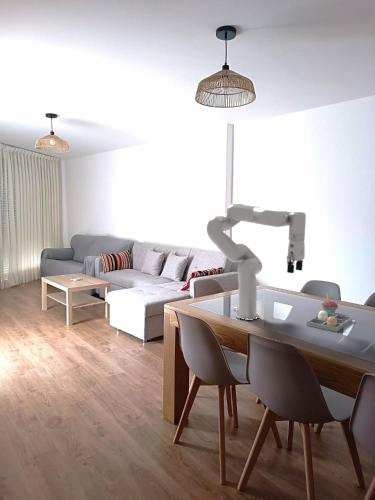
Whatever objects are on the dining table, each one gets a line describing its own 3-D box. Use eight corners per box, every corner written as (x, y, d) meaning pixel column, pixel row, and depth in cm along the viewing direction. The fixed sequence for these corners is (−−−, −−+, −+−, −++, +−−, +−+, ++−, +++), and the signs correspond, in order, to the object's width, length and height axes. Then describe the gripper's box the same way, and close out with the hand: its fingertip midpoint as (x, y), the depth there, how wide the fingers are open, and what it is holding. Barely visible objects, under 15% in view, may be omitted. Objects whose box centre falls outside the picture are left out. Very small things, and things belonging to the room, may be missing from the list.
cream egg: (316, 321, 188) (316, 310, 187) (320, 319, 191) (320, 309, 190) (325, 323, 185) (325, 312, 184) (328, 321, 188) (329, 310, 187)
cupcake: (327, 316, 198) (328, 294, 197) (318, 312, 206) (318, 291, 205) (341, 315, 200) (341, 293, 199) (331, 311, 209) (331, 290, 207)
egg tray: (306, 326, 182) (306, 321, 182) (323, 316, 198) (323, 311, 198) (336, 333, 172) (336, 327, 172) (352, 321, 189) (352, 317, 188)
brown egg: (325, 328, 177) (325, 316, 177) (328, 326, 181) (329, 314, 180) (334, 330, 175) (335, 318, 174) (337, 328, 178) (338, 316, 177)
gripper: (296, 239, 171) (294, 275, 173) (311, 236, 184) (309, 270, 186) (281, 237, 176) (279, 272, 178) (296, 235, 189) (295, 268, 191)
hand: (294, 271), depth 182 cm, fingers open, 9 cm apart
